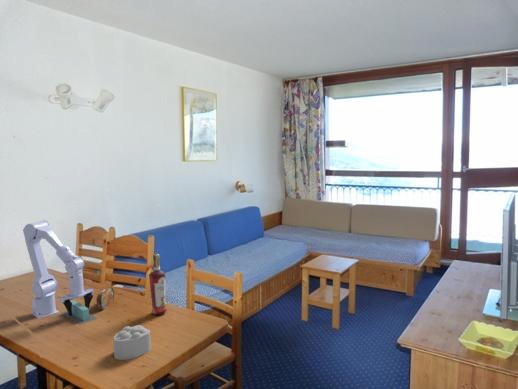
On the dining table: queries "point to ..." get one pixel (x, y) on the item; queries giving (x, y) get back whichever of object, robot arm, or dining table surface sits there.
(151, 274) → the liquor
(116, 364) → the dining table surface
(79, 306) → the teal rectangular block
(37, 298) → the robot arm
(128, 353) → the lumpy-topped squat cylinder
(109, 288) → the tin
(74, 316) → the tool mat
